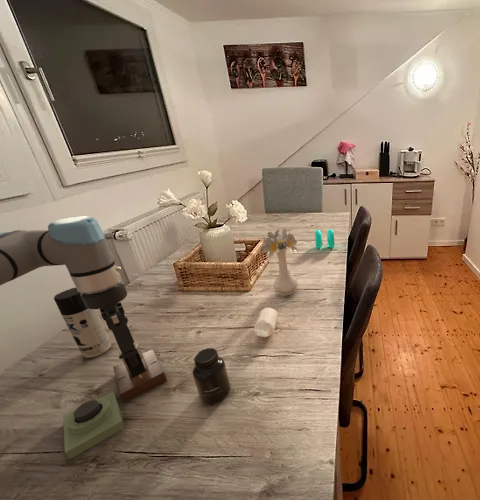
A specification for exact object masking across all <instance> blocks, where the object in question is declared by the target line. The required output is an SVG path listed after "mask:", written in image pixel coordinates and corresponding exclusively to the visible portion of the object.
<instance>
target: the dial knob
mask: <svg viewBox="0 0 480 500" xmlns="http://www.w3.org/2000/svg"><path fill="white" fill-rule="evenodd" d="M133 344H134V346H135V348H137V351H138V353H139V355H140V358H141V360H142V362H143V365H144V367H145V369H146V368H147V364H146V361H145V359H144V357H143V352H142V349H141V347H140V345H139V343H137V342H135V343H133ZM118 354H119V356H121V355H122V353H121V351H120V349H118ZM120 360H121V362H122V363H124V365H125V367H126V369H127V372H128V374H129V375H131V373H130V371H129V369H128V367H127V364H126V362H125V360H124V358H121V359H120Z"/></svg>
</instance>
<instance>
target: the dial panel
mask: <svg viewBox="0 0 480 500" xmlns="http://www.w3.org/2000/svg"><path fill="white" fill-rule="evenodd" d="M142 354H143V357H144V359H145V361H146V364H147V368H146V371H145V372H143V373H141V374H139V375H137V376H135V377H132V375H129V374H128V372H127V369H126V367H125V365H124V363H123V362H120V363H119V364H116V365H114V366H112V369H113V373H114V376H115V380H116V382H117V387H118V391H119V394H120V397H121V399H122V401H123V403H124V404H126V403H128V402H130V401H132V400H134V399H136V398H138V397H140V396H141V395H143V394H145V393H147V392H149V391H151V390H152V389H155V388H156V387H159V386H160V385H161V384H164V383H166V382H167V381H168V379H167V377H166V374H165V372H164V370H163V367H162V365H161V362H160V361H159V359H158V357H157V355H156V353H155V351H154V349H153V348H152V349H149V350H147V351H145V352H142Z"/></svg>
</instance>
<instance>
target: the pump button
mask: <svg viewBox="0 0 480 500" xmlns="http://www.w3.org/2000/svg"><path fill="white" fill-rule="evenodd" d="M100 411H101V406H100V405H99V403H98V401H96V399H92V400H88V401H86V402H84V403H82V404H81V405H79V406H78V407H77V408H76V409H75V412H74V417H75V419H76V420H77V422H79V423H83V422H87V421H88V420H90V419H92V418H94V417H95V416H96V415H97V414H98V413H99V412H100Z"/></svg>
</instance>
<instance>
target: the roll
mask: <svg viewBox="0 0 480 500" xmlns="http://www.w3.org/2000/svg"><path fill="white" fill-rule="evenodd" d="M278 317H279V313H278V310H276V309H275V308H272V307H265V308H262V309H261V310H260V312H259V315H258V317H257V320H256V322H255V325H254V329H253V334H254V335H255V336H256V337H261V338H268V337H269V336H271V335H273V334H274V333H275V329H276V324H277V322H278Z"/></svg>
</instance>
